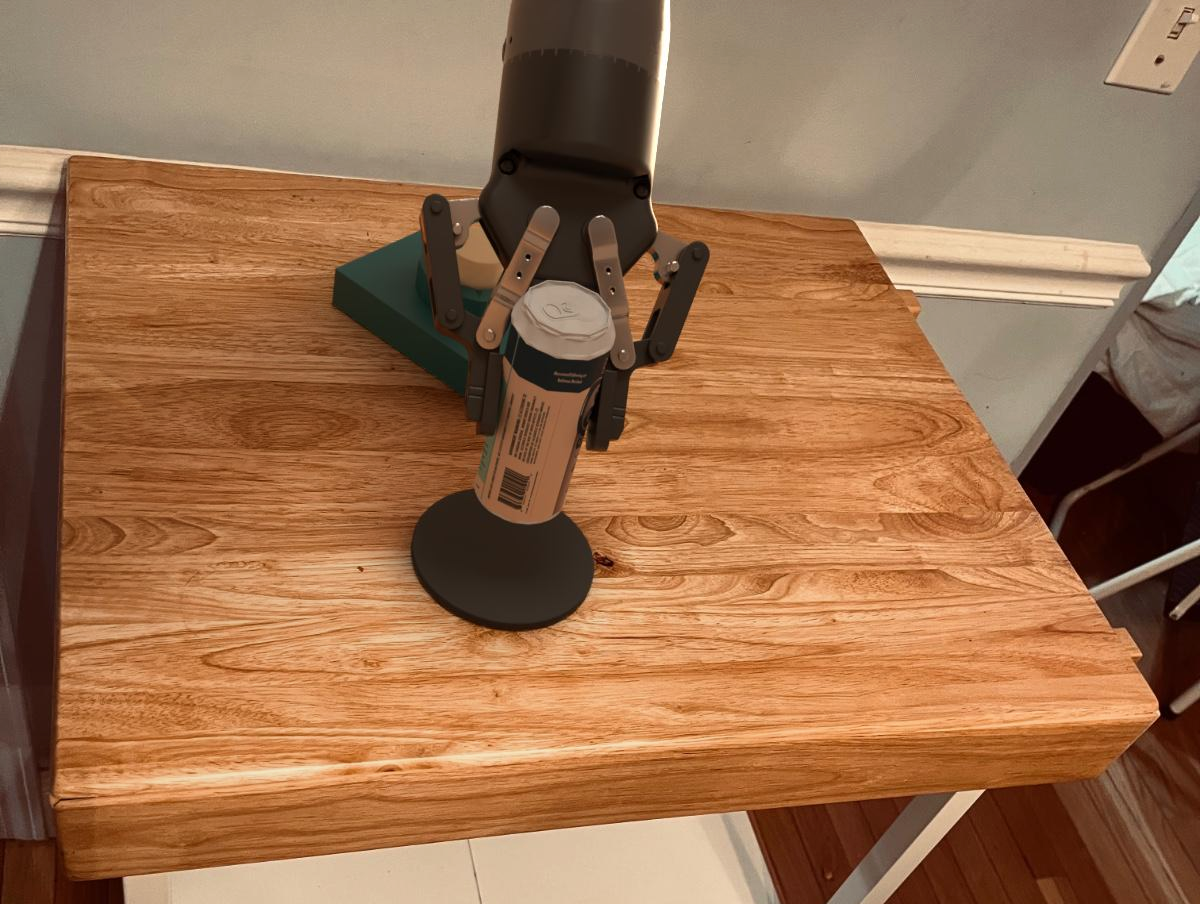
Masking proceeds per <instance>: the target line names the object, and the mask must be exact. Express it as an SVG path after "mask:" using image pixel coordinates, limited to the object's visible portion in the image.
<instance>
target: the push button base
mask: <svg viewBox="0 0 1200 904" xmlns="http://www.w3.org/2000/svg"><path fill="white" fill-rule="evenodd" d="M332 290H333V291H332V299H331V301H332V302H331V304H332V305H333V306H334V307H335V308H337V309H338V310H340V311H341V312H343V313H344V314H345V315H347V316H348V317H350V318H351V319H353V320H354V321H355V322H357V323H358V324H360V325H361V326H363V328H365V329H367V330H368V331H370V332H371V333H372V334H374V335H375V336H377V337H378V338H379V339H381V341H384V342H385V343H386V344H388V345H389V346H391V347H392V348H394V349H395V350H396V351H398V352H399V353H400V354H402V355H403V356H404V357H406V358H408V359H409V360H411V361H412V362H414V363H415V364H416V365H417V366H419V367H420V368H422V369H423V370H425V371H427V373H429V374H431V376H433V377H435V378H436V379H438V380H439V381H440V382H442V383H443V384H444V385H446V386H447V387H449V388H450V389H451V390H453V391H454V392H456V393H458V394H459V395H460V396H461V397H463V398H464V399H465V393H466V384H467V375H468V366H469V353H468V351H467V349H466V347H465V346H464V345H463V344H461V343H460V342H458V341H456V340H454V339H452V338H450V337H449V336H444V335H441V334H440V333H438V332H437V330H436V329H435V326H434V321H433V314H432V307H431V300H430V293H429V286H428V279H427V272H426V265H425V258H424V251H423V244H422V237H421V230H417V231H415V232H413V233H410V234H407V235H406V236H403V237H402V238H399V239H398V240H395V241H392V242H391V243H389V244H386V245H384V246H381V247H379V248H377V249H375V250H373V251H371V252H368V253H367V254H364V255H362V256H360V257H357V258H354V259H353V260H351V261H348V262H346V263H344V264H342V265H339V266H337V267H335V269H334V279H333V289H332ZM461 290H462V298H463V305H464V310H466V311H468V312H470V313H472V314H473V315H475V316H477V317H479V318H481V316H482V314H483V312H484V310H485V307H486V305H487V303H488V300H489V298H490V296H491V294H492V292H493V290H494V289H488V290H477V289H473V288H470V287H466V286H462V285H461ZM510 327H511V323H510V325H509V327H508V329H507V331H506V333H505V335H504V337H503V339H502V341H501V343H500V351H499V353H500V354H504V353H505V349H506V344H507V340H508V336H509V331H510Z"/></svg>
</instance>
